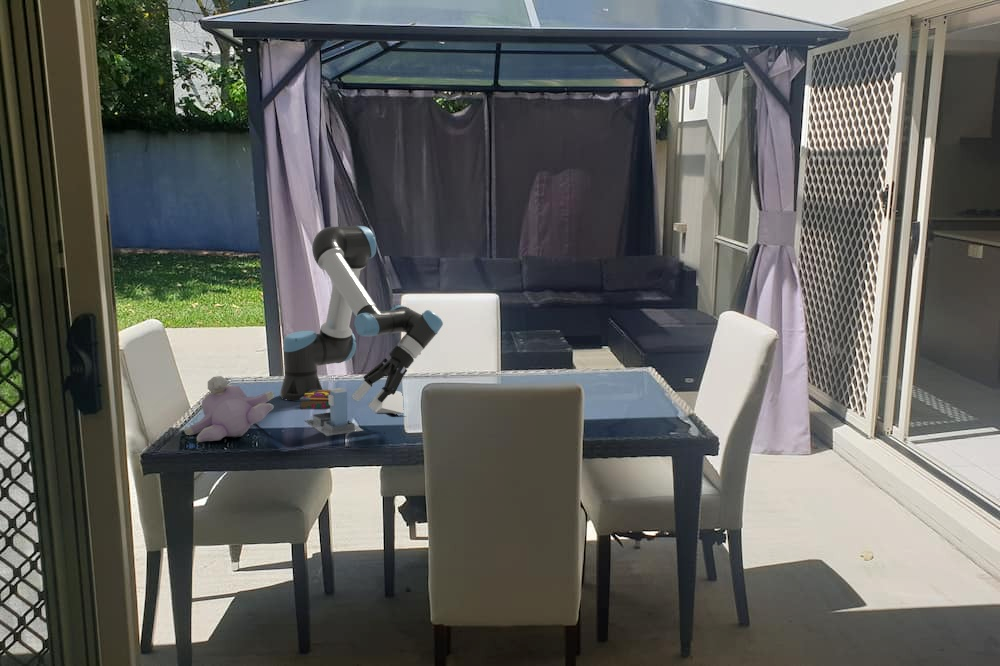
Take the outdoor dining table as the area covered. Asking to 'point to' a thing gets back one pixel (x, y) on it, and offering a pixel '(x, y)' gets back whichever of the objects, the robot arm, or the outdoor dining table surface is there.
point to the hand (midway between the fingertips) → (362, 404)
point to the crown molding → (392, 404)
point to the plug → (338, 406)
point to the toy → (229, 411)
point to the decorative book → (315, 399)
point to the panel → (324, 425)
